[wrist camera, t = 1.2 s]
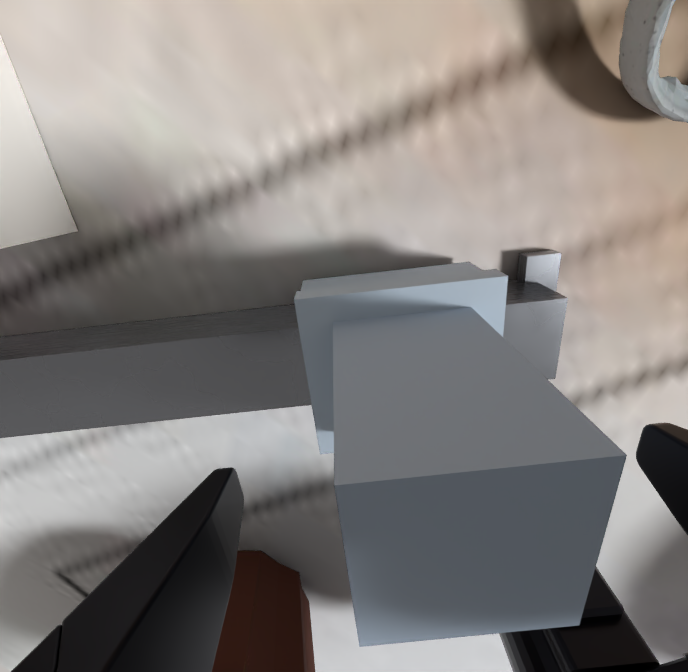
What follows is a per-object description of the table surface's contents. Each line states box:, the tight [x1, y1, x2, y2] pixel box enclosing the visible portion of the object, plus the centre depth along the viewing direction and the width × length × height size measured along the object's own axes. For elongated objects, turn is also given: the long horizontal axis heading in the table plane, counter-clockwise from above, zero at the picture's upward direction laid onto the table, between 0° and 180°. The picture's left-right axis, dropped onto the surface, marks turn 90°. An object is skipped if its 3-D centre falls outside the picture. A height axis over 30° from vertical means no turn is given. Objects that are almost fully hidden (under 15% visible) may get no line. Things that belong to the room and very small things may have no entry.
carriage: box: [294, 262, 627, 647], centre depth 10 cm, size 6×6×9 cm
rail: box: [0, 250, 568, 438], centre depth 13 cm, size 5×26×2 cm, turn 96°
